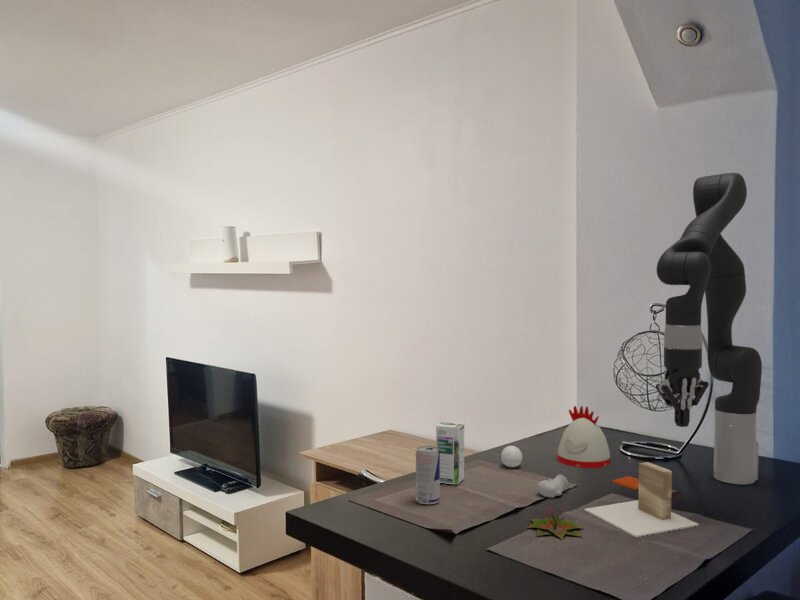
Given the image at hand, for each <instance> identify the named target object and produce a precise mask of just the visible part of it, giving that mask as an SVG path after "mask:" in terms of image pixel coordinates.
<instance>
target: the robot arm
mask: <svg viewBox="0 0 800 600" xmlns="http://www.w3.org/2000/svg"><path fill="white" fill-rule="evenodd" d="M747 190H748V189H747V184H746V180H745V178H744V177H743V175H742V174H741V173H739V172H727V173H726V172H725V173H718V174H712V175H707V176H701V177H698V178H696V180H695V181H694V182H693V188H692V197H693V198H692V199H693V205H694V211H695V217H694V218H693V220H691V222H689V223H688V225H687V226H686V227H685V229H684V230H683V233H682V234H681V236H680V238H679V239H678V240H677V241H676V242H674V243H673V244H672V245H671V246H669V247H668V248H667V249H666V250H664V252H663V253H662V254H661V255H660V257H659V259H658V261H657V264H656V276H657V277H658V279H659V280H660V282H662V283H663V284H665V285H666V286H667V285H669V286H689V288H688V290H686V291H687V292H686V293H684V294H681V295H677V296H676V295H675V296H672V297H669V298H668V299H667V300H665V325H664V327H665V328H664V334H663V367H665V369H666V371H665V374H664V379H663V381H662V382H661V383H657V384H655V389H656V391H657V392H658V394H659V395H660V397H661V399H663V401H664V403H665V404H666V406H667V407H672V408H673V409H674V423H675V425H676V426H677V427H681V428H687V427H689V424H690V422H691V421H690V420H691V419H690V417H691V416H690V415H691V413H690V412H691V411H690V410H691V409H692V408H693V406H697V405H699V402H701V399H702V398H703V396H704V394H705V393H706V391H707V389H708V387H709V382H708V381H705V380H703V379H702V378H701V373H700V369H701V368H702V367H703V332H702V305H703V300H704V296H705V303H706V306H705V307H706V319H707V364H708V371H709V373H710V375H711V376H712V377H713V378H714V379H715V380H717V381H721V382H727V383H732V384H731V385H732V386H731V391H730V393H728V394H724V395H720V396H717V397H716V398H715V400H714V436H713V437H714V442H713V443H714V445H713V478H714V479H715V480H717V481H720V482H723V483H727V484H731V485H732V484H733V485H753V484H754V483H755V482H756V481H758V480H759V447H760V446H759V442H758V441H757V407H758V404H759V401H760V397H761V386H762V385H761V384H762V373H763V372H762V371H763V370H762V369H763V363H762V358H761V355H760V353H759V351H758V350H756V349H755V348H754V347H749V346H743V345H742V346H741V345H735V344H733V335H732V334H733V333H732V332H733V330H732V329H733V322H734V320H735V317H736V315H737V313H738V311H739V310H740V308H741V305H742V304H743V301H744V300H745V297H746V295H747V294H746V293H747V283H746V273H745V272H746V271H745V266H744V263H743V261H742V259H741V258H740V256H739V255H738V254H737V253H736V252H735V250H734V249H733V248H732V247H731V246H730V244H729V243H728V242H727V241H726V240H725V238H724V236H723V235H722V232H723V231H724V230H725V228H726V227H727V226H728V225H729V224H730V223H731V222H732V221H733V220H734V218H735V217H736V216H737V215H738V214H739V213H740V212H741V210H742V208H743V207H744V205H745V203H746V200H747V196H748V195H747V194H748V191H747Z"/></svg>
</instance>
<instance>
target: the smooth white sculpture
mask: <svg viewBox="0 0 800 600" xmlns="http://www.w3.org/2000/svg"><path fill="white" fill-rule="evenodd" d="M568 485H569V481H568V479H567V478H566V477H565V476H564V475H563V474H557V475H556V476H555V477H554V479H552V478H548V479H547V480H541V481H539V482H538V484H537V491H538V493H539V494H540V495H541V496H543V497H545V498H549V499H550V498H551V499H554V498H555V497H557V496H562V493H563V492H565V491H566V490H567V489H568V487H569V486H568Z"/></svg>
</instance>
